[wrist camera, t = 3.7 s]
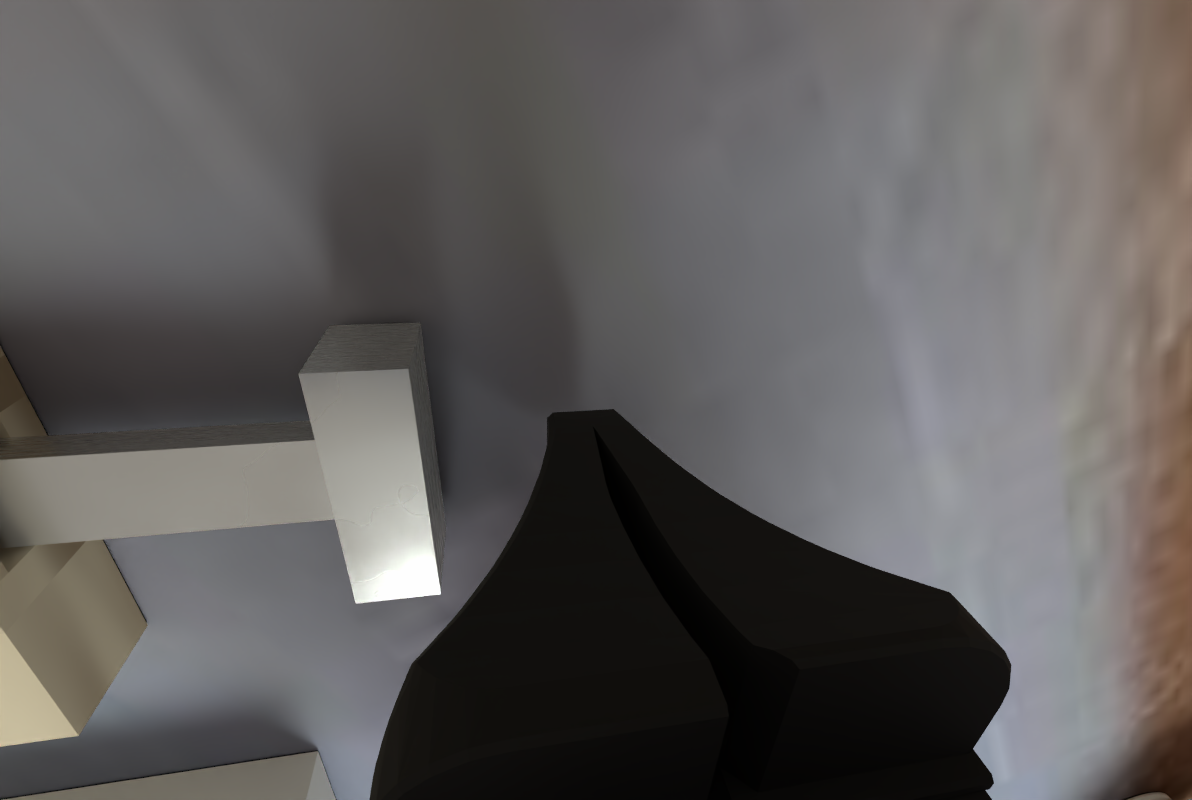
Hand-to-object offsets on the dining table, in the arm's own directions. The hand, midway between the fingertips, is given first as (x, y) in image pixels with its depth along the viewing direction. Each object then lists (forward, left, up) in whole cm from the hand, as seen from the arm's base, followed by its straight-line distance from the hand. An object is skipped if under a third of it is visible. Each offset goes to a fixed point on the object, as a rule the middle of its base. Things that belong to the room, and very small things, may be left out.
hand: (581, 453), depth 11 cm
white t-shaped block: (+7, 0, -1) cm, 7 cm away
